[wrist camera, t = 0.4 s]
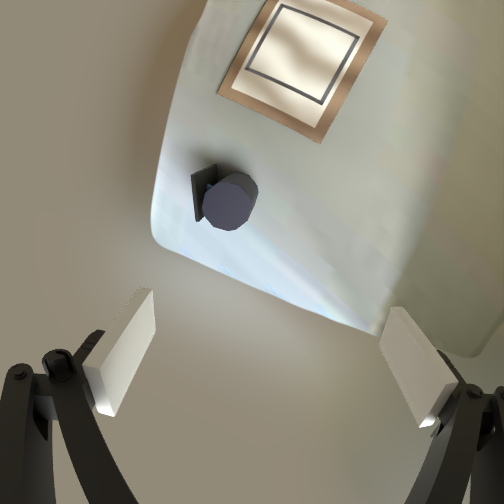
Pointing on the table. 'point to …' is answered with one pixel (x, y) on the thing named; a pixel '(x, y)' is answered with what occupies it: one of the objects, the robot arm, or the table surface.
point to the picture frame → (302, 61)
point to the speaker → (223, 198)
